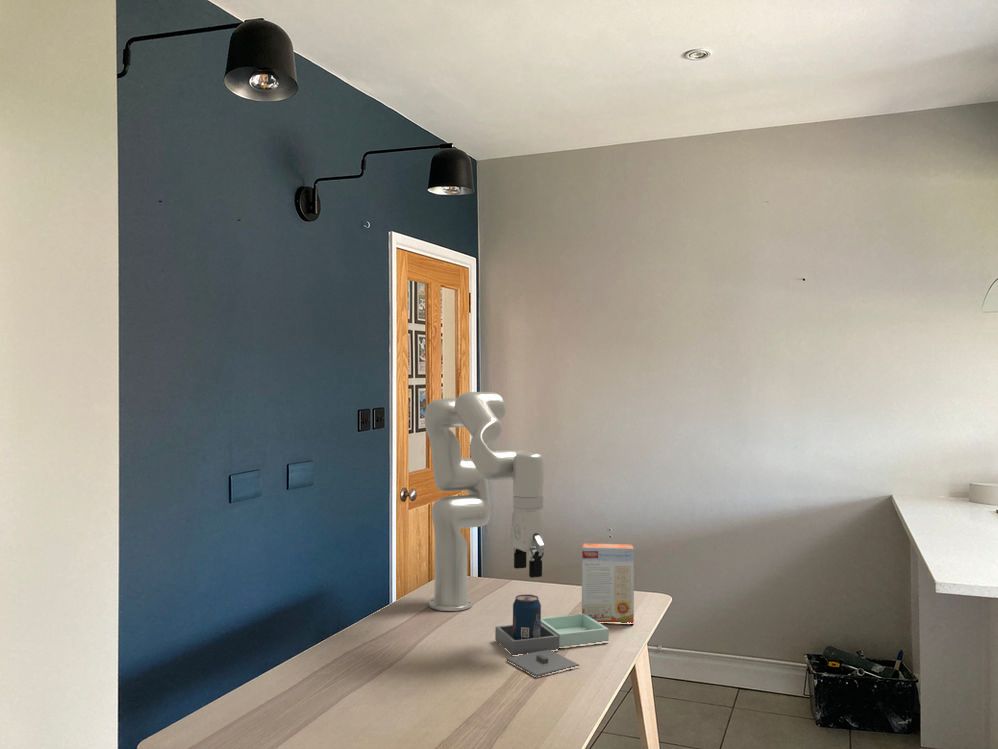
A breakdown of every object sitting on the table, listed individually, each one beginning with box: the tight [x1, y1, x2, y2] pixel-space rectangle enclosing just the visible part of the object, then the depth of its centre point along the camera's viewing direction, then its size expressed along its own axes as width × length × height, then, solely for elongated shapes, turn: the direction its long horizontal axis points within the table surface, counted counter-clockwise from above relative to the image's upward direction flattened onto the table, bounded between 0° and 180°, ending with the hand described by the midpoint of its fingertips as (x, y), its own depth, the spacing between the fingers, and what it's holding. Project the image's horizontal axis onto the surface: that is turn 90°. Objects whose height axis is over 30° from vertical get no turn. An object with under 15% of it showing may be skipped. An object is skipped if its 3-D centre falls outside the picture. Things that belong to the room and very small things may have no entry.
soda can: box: [512, 594, 542, 640], centre depth 195 cm, size 7×7×12 cm
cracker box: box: [581, 542, 635, 623], centre depth 216 cm, size 14×6×21 cm, turn 84°
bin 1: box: [494, 624, 560, 655], centre depth 195 cm, size 12×12×4 cm
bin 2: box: [541, 613, 610, 647], centre depth 202 cm, size 14×14×4 cm
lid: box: [505, 649, 580, 677], centre depth 183 cm, size 12×12×2 cm
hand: (527, 572), depth 195 cm, fingers open, 9 cm apart
